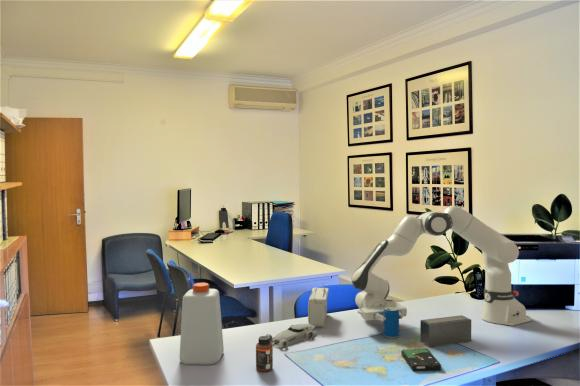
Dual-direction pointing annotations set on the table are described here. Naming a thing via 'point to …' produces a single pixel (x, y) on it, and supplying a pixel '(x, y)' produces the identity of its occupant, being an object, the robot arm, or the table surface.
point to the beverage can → (391, 322)
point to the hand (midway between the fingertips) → (392, 317)
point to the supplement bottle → (264, 354)
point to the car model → (292, 335)
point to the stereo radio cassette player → (318, 307)
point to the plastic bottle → (201, 326)
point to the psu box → (445, 331)
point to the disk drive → (421, 360)
